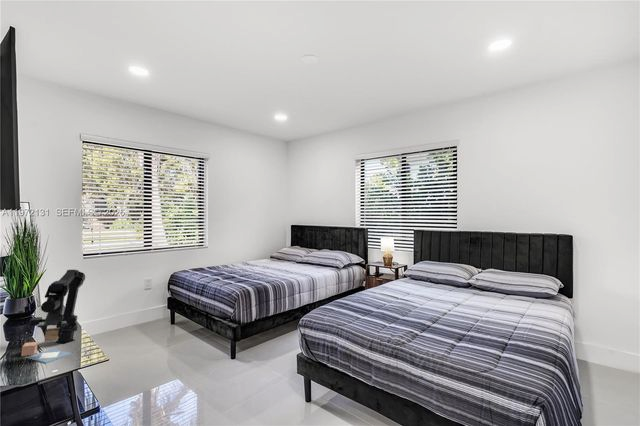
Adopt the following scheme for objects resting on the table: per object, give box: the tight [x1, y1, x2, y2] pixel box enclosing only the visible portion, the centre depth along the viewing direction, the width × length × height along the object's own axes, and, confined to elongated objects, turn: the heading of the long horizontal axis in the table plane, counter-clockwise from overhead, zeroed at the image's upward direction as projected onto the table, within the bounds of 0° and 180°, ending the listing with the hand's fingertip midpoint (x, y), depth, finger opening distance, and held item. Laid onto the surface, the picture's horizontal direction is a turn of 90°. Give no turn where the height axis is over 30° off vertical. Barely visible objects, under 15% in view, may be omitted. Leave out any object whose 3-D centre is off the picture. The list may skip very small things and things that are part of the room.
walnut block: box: [43, 327, 60, 342], centre depth 161 cm, size 5×5×5 cm
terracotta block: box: [20, 341, 39, 357], centre depth 162 cm, size 5×5×5 cm
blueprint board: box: [26, 348, 72, 364], centre depth 161 cm, size 12×13×1 cm
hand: (52, 337), depth 161 cm, fingers closed on walnut block, 5 cm apart
